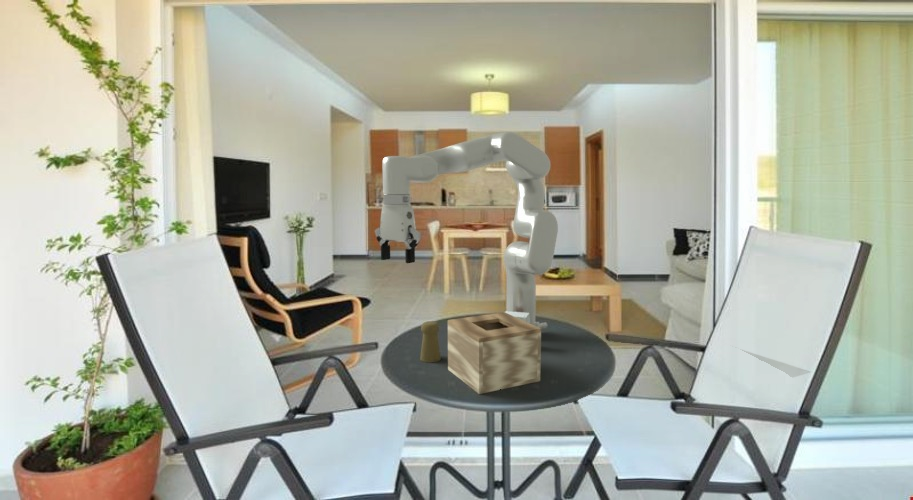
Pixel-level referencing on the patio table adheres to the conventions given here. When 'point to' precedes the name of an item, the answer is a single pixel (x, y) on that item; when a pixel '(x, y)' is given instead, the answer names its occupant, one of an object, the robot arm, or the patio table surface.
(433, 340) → the cork
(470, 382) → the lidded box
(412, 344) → the patio table surface
